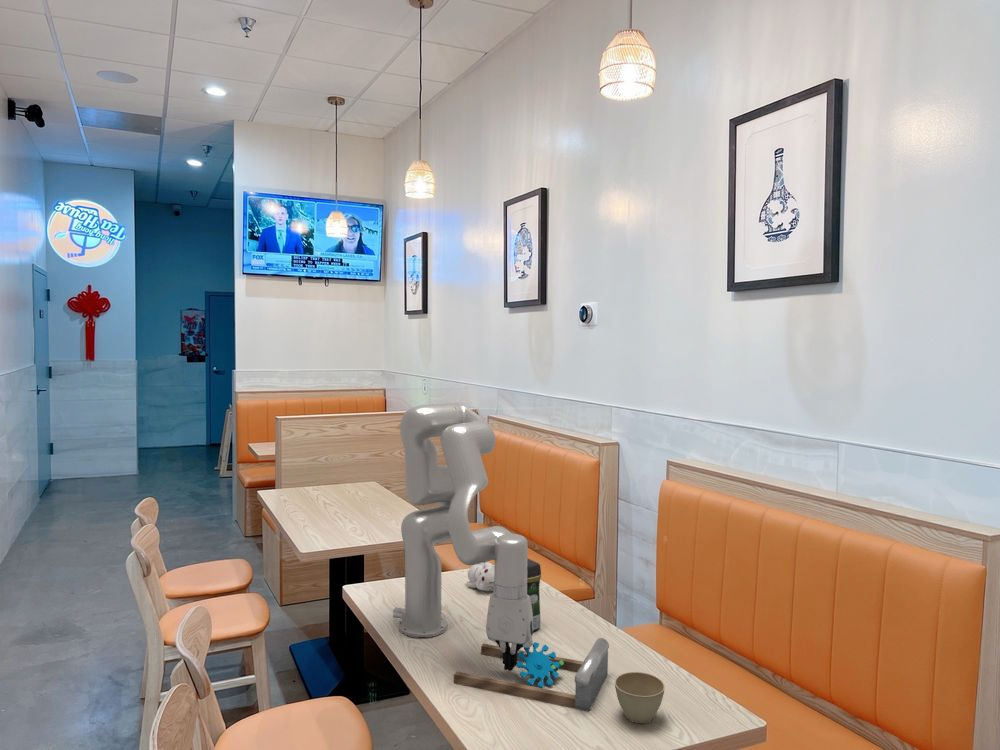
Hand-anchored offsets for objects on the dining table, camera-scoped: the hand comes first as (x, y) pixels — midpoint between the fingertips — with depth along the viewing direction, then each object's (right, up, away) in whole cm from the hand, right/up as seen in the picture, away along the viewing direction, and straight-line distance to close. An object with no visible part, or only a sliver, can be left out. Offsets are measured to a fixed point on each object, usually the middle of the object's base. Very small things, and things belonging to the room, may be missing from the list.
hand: (509, 667), depth 161 cm
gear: (+7, -2, -3) cm, 8 cm away
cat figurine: (-7, +1, +54) cm, 55 cm away
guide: (+4, -2, -1) cm, 4 cm away
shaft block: (+18, -2, -7) cm, 19 cm away
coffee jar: (+4, 0, +27) cm, 27 cm away
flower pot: (+26, -3, -18) cm, 32 cm away
